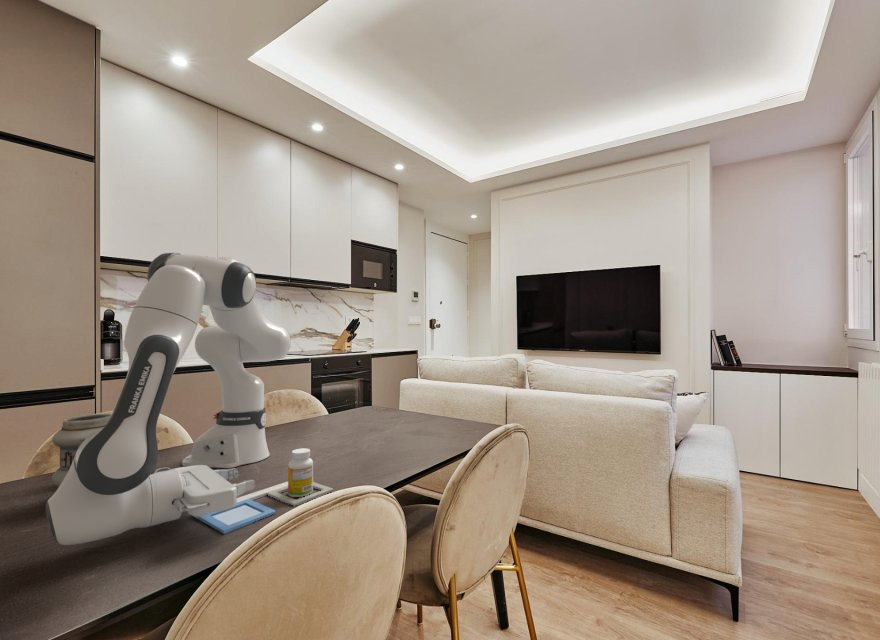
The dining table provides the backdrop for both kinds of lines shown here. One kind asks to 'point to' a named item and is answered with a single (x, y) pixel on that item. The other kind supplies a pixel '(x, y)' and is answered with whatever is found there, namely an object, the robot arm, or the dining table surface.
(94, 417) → the apothecary jar
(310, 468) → the supplement bottle
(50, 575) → the dining table surface
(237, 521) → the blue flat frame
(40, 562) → the dining table surface
